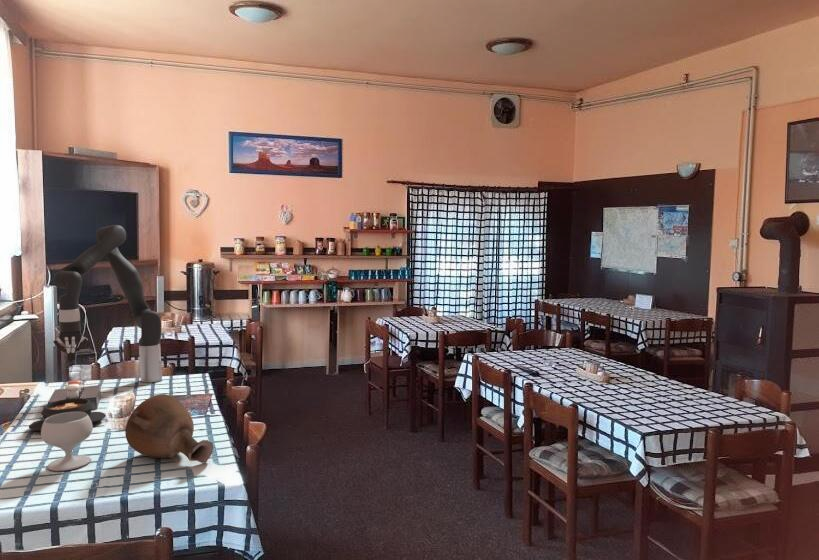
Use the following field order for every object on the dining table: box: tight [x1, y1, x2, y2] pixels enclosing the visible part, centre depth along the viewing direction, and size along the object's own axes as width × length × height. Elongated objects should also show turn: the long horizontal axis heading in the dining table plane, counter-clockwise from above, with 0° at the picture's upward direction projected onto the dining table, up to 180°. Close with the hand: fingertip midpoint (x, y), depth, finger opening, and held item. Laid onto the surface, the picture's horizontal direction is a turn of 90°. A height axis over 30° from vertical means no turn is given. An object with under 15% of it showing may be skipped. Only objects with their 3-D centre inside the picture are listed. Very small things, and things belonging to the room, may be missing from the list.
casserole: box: [28, 398, 107, 431], centre depth 229 cm, size 25×19×8 cm
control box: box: [47, 384, 102, 411], centre depth 255 cm, size 17×20×5 cm
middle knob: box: [67, 379, 83, 394], centre depth 255 cm, size 5×5×6 cm
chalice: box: [40, 412, 94, 472], centre depth 192 cm, size 14×14×15 cm
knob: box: [64, 384, 80, 399], centre depth 248 cm, size 5×5×6 cm
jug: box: [124, 393, 214, 464], centre depth 196 cm, size 20×20×30 cm
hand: (71, 361), depth 257 cm, fingers closed
